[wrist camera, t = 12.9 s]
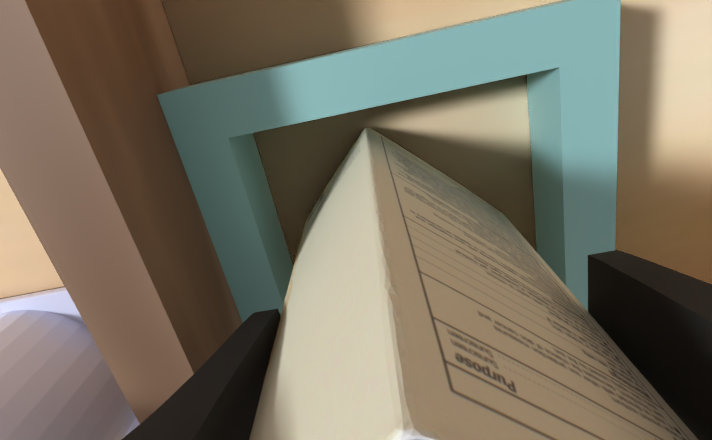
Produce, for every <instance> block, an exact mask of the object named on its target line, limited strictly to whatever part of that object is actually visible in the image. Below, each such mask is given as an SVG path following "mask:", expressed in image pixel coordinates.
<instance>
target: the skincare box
mask: <svg viewBox="0 0 712 440" xmlns="http://www.w3.org/2000/svg"><path fill="white" fill-rule="evenodd" d="M249 440H698V439H697V437H696V436H695V435H694V434H693V433H692V432H691V431H690V429H689V428H688V427H687V426H686V425H685V424H684V423H683V421H682V420H681V419H680V418H679V417H678V416H677V415H676V413H675V412H674V411H673V410H672V409H671V408H670V407H669V405H668V404H667V403H666V402H665V401H664V400H663V398H662V397H661V396H660V395H659V394H658V392H657V391H656V390H655V389H654V388H653V387H652V385H651V384H650V383H649V382H648V381H647V379H646V378H645V377H644V376H643V375H642V374H641V373H640V371H639V370H638V369H637V368H636V367H635V366H634V365H633V363H632V362H631V361H630V360H629V359H628V358H627V357H626V355H625V354H624V353H623V352H622V351H621V350H620V348H619V347H618V346H617V345H616V344H615V342H614V341H613V340H612V339H611V338H610V337H609V335H608V334H607V333H606V332H605V331H604V330H603V328H602V327H601V326H600V325H599V324H598V323H597V321H596V320H595V319H594V318H593V317H592V316H591V314H590V313H589V312H588V311H587V310H586V309H585V307H584V306H583V305H582V304H581V303H580V302H579V301H578V299H577V298H576V297H575V296H574V295H573V294H572V292H571V291H570V290H569V289H568V288H567V287H566V285H565V284H564V283H563V282H562V281H561V280H560V279H559V277H558V276H557V275H556V274H555V273H554V272H553V270H552V269H551V268H550V267H549V266H548V265H547V263H546V262H545V261H544V260H543V259H542V258H541V257H540V255H539V254H538V253H537V252H536V251H535V250H534V248H533V247H532V246H531V245H530V244H529V243H528V241H527V240H526V239H525V238H524V237H523V236H522V234H521V233H520V232H519V231H518V230H517V229H516V227H515V226H514V225H513V224H512V223H511V222H510V221H509V219H508V218H507V217H506V216H505V215H504V214H503V213H502V212H500V211H499V210H497V209H496V208H495V207H493V206H492V205H490V204H489V203H487V202H486V201H484V200H483V199H481V198H480V197H478V196H477V195H475V194H474V193H472V192H471V191H469V190H468V189H466V188H465V187H463V186H462V185H460V184H459V183H457V182H456V181H454V180H453V179H451V178H450V177H448V176H447V175H445V174H444V173H442V172H440V171H439V170H437V169H435V168H434V167H432V166H431V165H429V164H428V163H426V162H425V161H423V160H422V159H420V158H418V157H417V156H415V155H413V154H412V153H410V152H409V151H407V150H406V149H404V148H402V147H401V146H399V145H397V144H396V143H394V142H392V141H391V140H389V139H387V138H386V137H384V136H383V135H381V134H379V133H378V132H376V131H374V130H373V129H371V128H365V129H364V130H363V131H362V133H361V134H360V136H359V137H358V138H357V140H356V141H355V143H354V144H353V146H352V147H351V149H350V151H349V152H348V154H347V155H346V157H345V158H344V160H343V161H342V163H341V164H340V166H339V167H338V169H337V170H336V172H335V174H334V175H333V177H332V178H331V180H330V181H329V183H328V184H327V186H326V188H325V189H324V191H323V193H322V194H321V196H320V197H319V199H318V201H317V203H316V204H315V206H314V208H313V209H312V211H311V213H310V215H309V216H308V218H307V220H306V222H305V224H304V228H303V232H302V236H301V240H300V244H299V247H298V251H297V255H296V258H295V263H294V267H293V270H292V275H291V278H290V282H289V286H288V290H287V293H286V297H285V300H284V304H283V308H282V312H281V318H280V322H279V326H278V329H277V333H276V337H275V341H274V345H273V348H272V352H271V356H270V360H269V364H268V367H267V371H266V375H265V379H264V383H263V387H262V391H261V395H260V399H259V404H258V408H257V411H256V415H255V419H254V423H253V427H252V431H251V435H250V439H249Z"/></svg>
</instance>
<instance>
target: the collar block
mask: <svg viewBox="0 0 712 440" xmlns="http://www.w3.org/2000/svg"><path fill="white" fill-rule="evenodd" d="M620 10H621V0H563V1H558V2H554V3H550V4H545V5H541V6H536V7H532V8H528V9H523V10H519V11H514V12H510V13H506V14H501V15H497V16H492V17H488V18H484V19H479V20H475V21H470V22H466V23H462V24H457V25H453V26H448V27H444V28H440V29H435V30H431V31H426V32H422V33H418V34H413V35H409V36H404V37H400V38H396V39H391V40H387V41H382V42H378V43H374V44H369V45H365V46H360V47H356V48H352V49H347V50H343V51H338V52H334V53H330V54H325V55H321V56H316V57H312V58H308V59H303V60H299V61H294V62H290V63H286V64H281V65H277V66H272V67H268V68H264V69H259V70H255V71H250V72H246V73H242V74H237V75H233V76H228V77H224V78H220V79H215V80H211V81H206V82H202V83H198V84H193V85H189V86H186V87H182V88H179V89H176V90H172V91H169V92H165V93H162V94H158V95H157V97H158V99H159V102H160V105H161V107H162V110H163V113H164V115H165V118H166V121H167V123H168V126H169V129H170V131H171V134H172V137H173V139H174V142H175V145H176V147H177V150H178V153H179V155H180V158H181V160H182V163H183V166H184V168H185V171H186V174H187V176H188V179H189V182H190V184H191V187H192V190H193V192H194V195H195V198H196V200H197V203H198V206H199V208H200V211H201V214H202V216H203V219H204V222H205V224H206V227H207V230H208V232H209V235H210V238H211V240H212V243H213V245H214V248H215V251H216V253H217V256H218V259H219V261H220V264H221V267H222V269H223V272H224V275H225V277H226V280H227V283H228V285H229V288H230V291H231V293H232V296H233V299H234V301H235V304H236V307H237V309H238V312H239V315H240V317H241V320H242V323H243V322H244V321H245V320H246V319H247V318H248V317H249V316H251V315H252V314H253V313H255V312H260V311H266V310H272V309H278V310H279V313H280V316H281V312H282V308H283V304H284V300H285V297H286V293H287V290H288V286H289V282H290V278H291V275H292V270H293V264H292V260H291V257H290V254H289V250H288V247H287V244H286V241H285V237H284V234H283V231H282V227H281V224H280V221H279V218H278V214H277V211H276V208H275V204H274V201H273V198H272V194H271V191H270V188H269V185H268V181H267V178H266V175H265V171H264V168H263V165H262V162H261V158H260V155H259V152H258V148H257V145H256V142H255V139H254V135H253V133H255V132H259V131H264V130H269V129H273V128H278V127H283V126H287V125H292V124H297V123H301V122H306V121H311V120H315V119H320V118H325V117H329V116H334V115H339V114H343V113H348V112H353V111H357V110H362V109H367V108H371V107H376V106H381V105H385V104H390V103H395V102H399V101H404V100H409V99H413V98H418V97H423V96H427V95H432V94H437V93H442V92H446V91H451V90H456V89H460V88H465V87H470V86H474V85H479V84H484V83H488V82H493V81H498V80H502V79H507V78H512V77H516V76H521V75H526V74H527V90H528V107H529V125H530V143H531V160H532V178H533V195H534V213H535V230H536V248H537V253H538V254H539V255H540V257H541V258H542V259H543V260H544V261H545V262H546V263H547V265H548V266H549V267H550V268H551V269H552V270H553V272H554V273H555V274H556V275H557V276H558V277H559V279H560V280H561V281H562V282H563V283H564V284H565V285H566V287H567V288H568V289H569V290H570V291H571V292H572V294H573V295H574V296H575V297H576V298H577V299H578V301H579V302H580V303H581V304H582V305H583V306H584V307H585V309H586V310H587V311H588V255H591V254H597V253H602V252H608V251H614V250H615V245H616V198H617V151H618V104H619V57H620Z"/></svg>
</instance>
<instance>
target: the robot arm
mask: <svg viewBox="0 0 712 440" xmlns="http://www.w3.org/2000/svg"><path fill="white" fill-rule="evenodd" d="M588 312H589V313H590V314H591V316H592V317H593V318H594V319H595V320H596V321H597V323H598V324H599V325H600V326H601V327H602V328H603V330H604V331H605V332H606V333H607V334H608V335H609V337H610V338H611V339H612V340H613V341H614V342H615V344H616V345H617V346H618V347H619V348H620V350H621V351H622V352H623V353H624V354H625V355H626V357H627V358H628V359H629V360H630V361H631V362H632V363H633V365H634V366H635V367H636V368H637V369H638V370H639V371H640V373H641V374H642V375H643V376H644V377H645V378H646V379H647V381H648V382H649V383H650V384H651V385H652V387H653V388H654V389H655V390H656V391H657V392H658V394H659V395H660V396H661V397H662V398H663V400H664V401H665V402H666V403H667V404H668V405H669V407H670V408H671V409H672V410H673V411H674V412H675V413H676V415H677V416H678V417H679V418H680V419H681V420H682V421H683V423H684V424H685V425H686V426H687V427H688V428H689V429H690V431H691V432H692V433H693V434H694V435H695V436H696V437H697V439H698V440H712V285H711V284H709V283H706V282H703V281H701V280H698V279H695V278H693V277H690V276H687V275H685V274H682V273H679V272H677V271H674V270H671V269H669V268H666V267H663V266H661V265H658V264H656V263H653V262H650V261H647V260H645V259H642V258H639V257H636V256H634V255H631V254H628V253H624V252H621V251H617V250H614V251H608V252H602V253H597V254H591V255H588ZM280 318H281V316H280V313H279V310H278V309H272V310H266V311H260V312H255V313H253V314H252V315H251V316H249V317H248V318H247V319H246V320H245V321H244V322H243V323H242V324H241V325H240V326H239V327H238V329H237V330H236V331H235V332H234V333H233V334H232V335H231V336H230V337H229V338H228V339H227V340H226V341H225V342H224V343H223V344H222V345H221V347H220V348H219V349H218V350H217V351H216V352H215V353H214V354H213V355H212V356H211V357H210V358H209V359H208V360H207V361H206V362H205V363H204V364H203V365H202V366H201V367H200V368H199V369H198V370H197V371H196V372H195V373H194V374H193V375H192V376H191V377H190V378H189V379H188V380H187V381H186V382H185V383H184V384H183V385H182V386H181V387H180V388H179V389H178V390H177V391H176V392H175V393H174V394H173V395H172V396H171V397H170V398H168V399H167V400H166V401H165V402H164V403H163V404H162V405H161V406H160V407H159V408H158V409H157V410H156V411H154V412H153V413H152V414H151V415H150V416H149V417H148V418H147V419H145V420H144V421H143V422H142V423H141V424H140V423H139V422H138V420H137V418H136V416H135V414H134V412H133V411H132V409H131V407H130V405H129V403H128V401H127V400H126V398H125V396H124V394H123V392H122V390H121V389H120V387H119V385H118V383H117V381H116V379H115V377H114V376H113V374H112V372H111V370H110V368H109V366H108V365H107V363H106V361H105V359H104V357H103V355H102V354H101V352H100V350H99V348H98V346H97V344H96V343H95V341H94V339H93V337H92V335H91V333H90V332H89V330H88V328H87V326H86V324H85V322H84V321H83V319H82V317H81V315H80V313H79V311H78V310H77V308H76V306H75V304H74V302H73V300H72V299H71V297H70V295H69V293H68V291H67V289H66V288H65V287H63V288H57V289H52V290H47V291H41V292H36V293H31V294H25V295H20V296H15V297H9V298H4V299H0V440H249V439H250V435H251V431H252V427H253V423H254V419H255V415H256V411H257V408H258V404H259V399H260V395H261V391H262V387H263V383H264V379H265V375H266V371H267V367H268V364H269V360H270V356H271V352H272V348H273V345H274V341H275V337H276V333H277V329H278V326H279V322H280Z"/></svg>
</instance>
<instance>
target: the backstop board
mask: <svg viewBox="0 0 712 440" xmlns="http://www.w3.org/2000/svg"><path fill="white" fill-rule="evenodd" d="M189 85H190V84H189V81H188V78H187V75H186V72H185V69H184V66H183V63H182V60H181V58H180V55H179V52H178V49H177V46H176V43H175V40H174V37H173V34H172V31H171V29H170V26H169V23H168V20H167V17H166V14H165V11H164V8H163V5H162V2H161V0H0V168H1V170H2V172H3V174H4V176H5V177H6V179H7V181H8V183H9V185H10V187H11V188H12V190H13V192H14V194H15V196H16V198H17V199H18V201H19V203H20V205H21V207H22V209H23V210H24V212H25V214H26V216H27V218H28V220H29V222H30V223H31V225H32V227H33V229H34V231H35V233H36V234H37V236H38V238H39V240H40V242H41V244H42V245H43V247H44V249H45V251H46V253H47V255H48V256H49V258H50V260H51V262H52V264H53V266H54V267H55V269H56V271H57V273H58V275H59V277H60V278H61V280H62V282H63V284H64V286H65V288H66V289H67V291H68V293H69V295H70V297H71V299H72V300H73V302H74V304H75V306H76V308H77V310H78V311H79V313H80V315H81V317H82V319H83V321H84V322H85V324H86V326H87V328H88V330H89V332H90V333H91V335H92V337H93V339H94V341H95V343H96V344H97V346H98V348H99V350H100V352H101V354H102V355H103V357H104V359H105V361H106V363H107V365H108V366H109V368H110V370H111V372H112V374H113V376H114V377H115V379H116V381H117V383H118V385H119V387H120V389H121V390H122V392H123V394H124V396H125V398H126V400H127V401H128V403H129V405H130V407H131V409H132V411H133V412H134V414H135V416H136V418H137V420H138V422H139V423H140V424H141V423H142V422H143V421H144V420H145V419H147V418H148V417H149V416H150V415H151V414H152V413H153V412H154V411H156V410H157V409H158V408H159V407H160V406H161V405H162V404H163V403H164V402H165V401H166V400H167V399H168V398H170V397H171V396H172V395H173V394H174V393H175V392H176V391H177V390H178V389H179V388H180V387H181V386H182V385H183V384H184V383H185V382H186V381H187V380H188V379H189V378H190V377H191V376H192V375H193V374H194V373H195V372H196V371H197V370H198V369H199V368H200V367H201V366H202V365H203V364H204V363H205V362H206V361H207V360H208V359H209V358H210V357H211V356H212V355H213V354H214V353H215V352H216V351H217V350H218V349H219V348H220V347H221V345H222V344H223V343H224V342H225V341H226V340H227V339H228V338H229V337H230V336H231V335H232V334H233V333H234V332H235V331H236V330H237V329H238V327H239V326H240V325H241V324H242V320H241V317H240V315H239V312H238V309H237V307H236V304H235V301H234V299H233V296H232V293H231V291H230V288H229V285H228V283H227V280H226V277H225V275H224V272H223V269H222V267H221V264H220V261H219V259H218V256H217V253H216V251H215V248H214V245H213V243H212V240H211V238H210V235H209V232H208V230H207V227H206V224H205V222H204V219H203V216H202V214H201V211H200V208H199V206H198V203H197V200H196V198H195V195H194V192H193V190H192V187H191V184H190V182H189V179H188V176H187V174H186V171H185V168H184V166H183V163H182V160H181V158H180V155H179V153H178V150H177V147H176V145H175V142H174V139H173V137H172V134H171V131H170V129H169V126H168V123H167V121H166V118H165V115H164V113H163V110H162V107H161V105H160V102H159V99H158V97H157V95H158V94H162V93H165V92H169V91H172V90H176V89H179V88H182V87H186V86H189Z"/></svg>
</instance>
